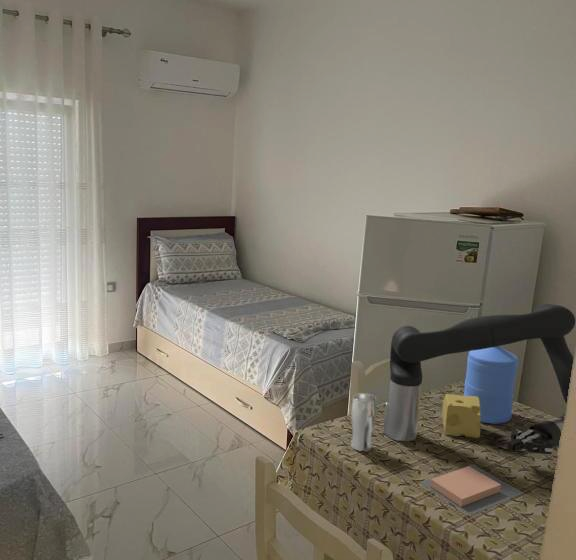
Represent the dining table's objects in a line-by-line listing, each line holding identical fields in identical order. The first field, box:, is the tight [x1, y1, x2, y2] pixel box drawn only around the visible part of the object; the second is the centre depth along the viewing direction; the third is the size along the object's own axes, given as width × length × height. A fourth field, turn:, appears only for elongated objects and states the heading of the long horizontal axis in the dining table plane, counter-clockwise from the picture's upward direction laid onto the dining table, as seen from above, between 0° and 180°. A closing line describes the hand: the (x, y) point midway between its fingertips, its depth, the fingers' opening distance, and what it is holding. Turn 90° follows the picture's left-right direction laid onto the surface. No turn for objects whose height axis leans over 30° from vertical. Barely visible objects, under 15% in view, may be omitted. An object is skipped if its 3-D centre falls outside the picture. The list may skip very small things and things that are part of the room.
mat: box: [419, 463, 524, 516], centre depth 144 cm, size 16×20×1 cm
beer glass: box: [350, 392, 377, 452], centre depth 163 cm, size 7×7×15 cm
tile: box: [430, 465, 501, 507], centre depth 143 cm, size 10×2×14 cm
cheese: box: [441, 393, 482, 439], centre depth 177 cm, size 10×11×10 cm
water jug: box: [463, 346, 519, 425], centre depth 188 cm, size 16×16×28 cm
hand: (510, 447), depth 150 cm, fingers closed
